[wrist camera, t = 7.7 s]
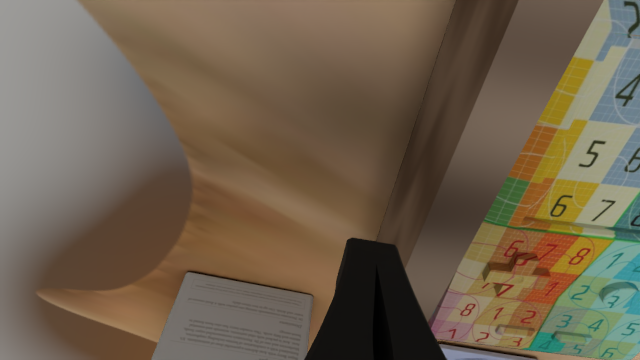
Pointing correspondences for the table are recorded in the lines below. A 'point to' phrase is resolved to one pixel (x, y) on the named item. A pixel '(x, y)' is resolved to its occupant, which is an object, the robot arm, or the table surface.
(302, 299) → the supplement box
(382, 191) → the table surface
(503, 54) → the shelf corner
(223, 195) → the table surface
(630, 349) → the puzzle game
